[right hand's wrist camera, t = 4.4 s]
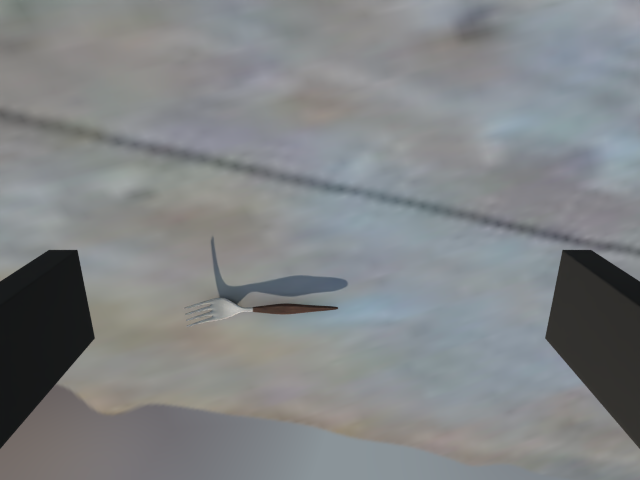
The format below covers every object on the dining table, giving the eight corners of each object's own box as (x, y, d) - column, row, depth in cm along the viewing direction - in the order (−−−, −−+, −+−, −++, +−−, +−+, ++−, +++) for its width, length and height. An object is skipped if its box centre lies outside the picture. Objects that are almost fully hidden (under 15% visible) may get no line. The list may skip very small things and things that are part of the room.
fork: (337, 316, 49) (338, 326, 47) (191, 319, 49) (186, 328, 48) (337, 295, 48) (338, 303, 46) (188, 297, 48) (183, 306, 47)
